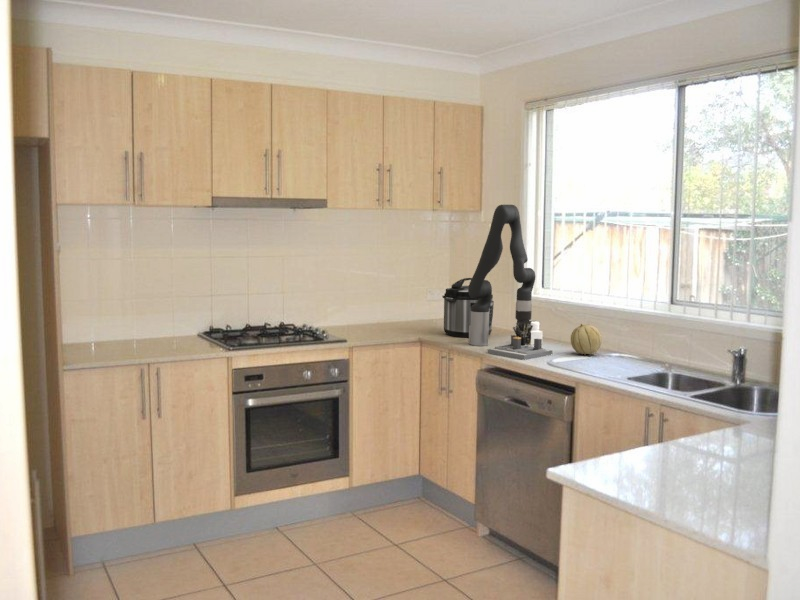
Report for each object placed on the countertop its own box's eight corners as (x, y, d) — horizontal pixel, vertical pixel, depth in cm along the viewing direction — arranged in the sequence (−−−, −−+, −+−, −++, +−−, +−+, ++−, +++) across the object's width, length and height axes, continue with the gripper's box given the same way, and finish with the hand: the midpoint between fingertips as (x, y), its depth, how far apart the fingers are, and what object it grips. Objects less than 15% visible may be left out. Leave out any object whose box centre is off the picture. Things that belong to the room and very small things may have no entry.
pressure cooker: (446, 338, 405) (447, 279, 401) (436, 331, 433) (437, 275, 429) (500, 338, 409) (502, 280, 406) (487, 330, 437) (489, 276, 433)
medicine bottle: (523, 343, 395) (524, 320, 393) (535, 342, 397) (536, 320, 396) (530, 345, 388) (531, 322, 387) (542, 344, 390) (543, 321, 389)
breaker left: (510, 346, 371) (510, 335, 370) (513, 345, 373) (514, 334, 372) (514, 347, 368) (515, 336, 368) (518, 346, 370) (519, 335, 370)
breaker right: (533, 350, 360) (533, 338, 360) (536, 349, 363) (537, 338, 362) (538, 351, 358) (538, 339, 358) (542, 350, 360) (542, 339, 360)
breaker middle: (512, 350, 361) (512, 337, 360) (516, 349, 363) (516, 336, 362) (517, 350, 359) (517, 338, 358) (521, 350, 361) (521, 337, 360)
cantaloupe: (607, 356, 361) (609, 324, 359) (584, 358, 354) (586, 326, 352) (586, 351, 374) (587, 321, 372) (563, 353, 367) (564, 322, 365)
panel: (487, 353, 363) (487, 347, 363) (515, 348, 378) (516, 342, 378) (524, 359, 347) (524, 353, 347) (552, 354, 362) (552, 348, 362)
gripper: (525, 307, 369) (524, 342, 371) (508, 309, 360) (507, 345, 361) (538, 309, 363) (537, 344, 365) (521, 311, 354) (520, 347, 356)
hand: (522, 345), depth 363 cm, fingers closed
